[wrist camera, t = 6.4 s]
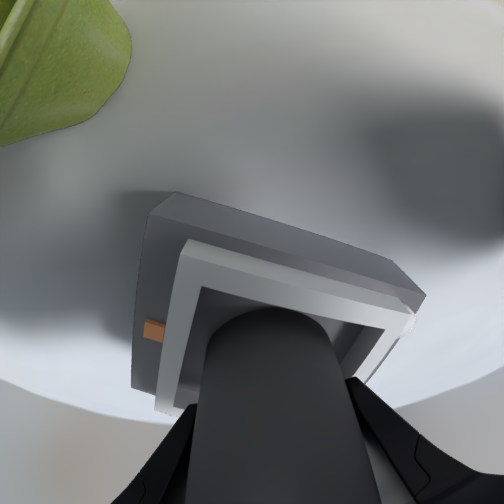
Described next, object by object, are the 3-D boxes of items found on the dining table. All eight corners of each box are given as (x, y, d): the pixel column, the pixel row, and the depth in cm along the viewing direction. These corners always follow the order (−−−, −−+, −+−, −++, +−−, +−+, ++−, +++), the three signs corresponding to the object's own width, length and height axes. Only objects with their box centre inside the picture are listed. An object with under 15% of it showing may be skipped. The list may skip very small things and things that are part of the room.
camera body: (391, 260, 13) (440, 310, 9) (320, 380, 16) (335, 439, 12) (175, 191, 11) (134, 224, 7) (148, 343, 15) (124, 405, 10)
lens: (333, 384, 11) (375, 543, 4) (225, 403, 11) (218, 561, 4) (328, 293, 9) (419, 530, 2) (185, 321, 10) (133, 550, 2)
